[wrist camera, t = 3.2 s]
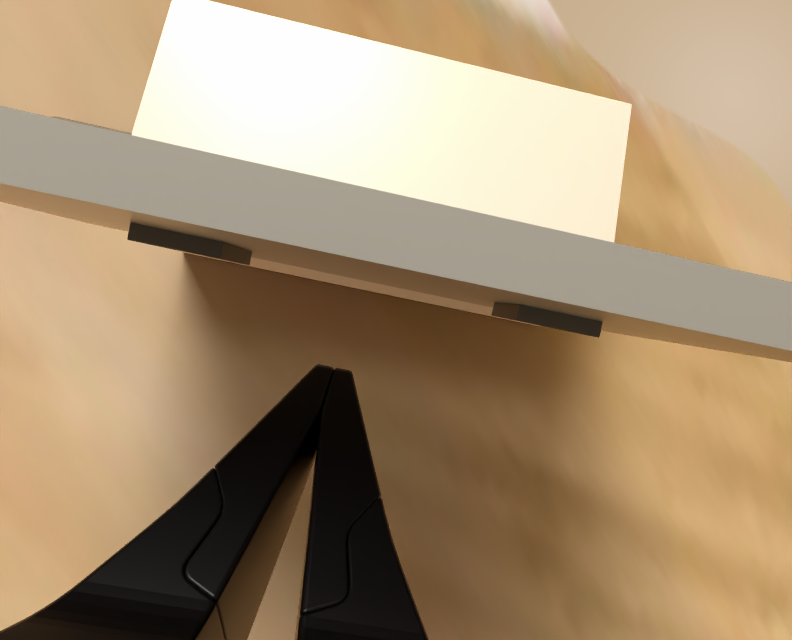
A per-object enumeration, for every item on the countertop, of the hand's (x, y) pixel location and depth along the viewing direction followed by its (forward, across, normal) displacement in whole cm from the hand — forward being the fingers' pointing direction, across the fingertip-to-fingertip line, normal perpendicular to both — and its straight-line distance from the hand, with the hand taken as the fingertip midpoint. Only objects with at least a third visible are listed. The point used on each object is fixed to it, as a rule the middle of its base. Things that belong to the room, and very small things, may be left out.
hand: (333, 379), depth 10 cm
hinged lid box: (+13, +4, +1) cm, 13 cm away
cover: (+2, 0, -3) cm, 3 cm away
